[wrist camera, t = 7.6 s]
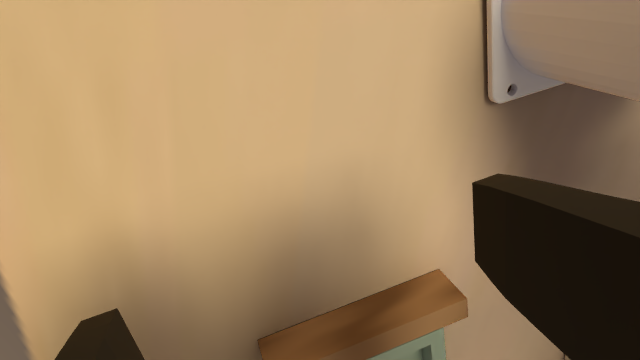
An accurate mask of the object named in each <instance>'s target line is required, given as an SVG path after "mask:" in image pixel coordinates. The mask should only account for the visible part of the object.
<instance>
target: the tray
mask: <svg viewBox="0 0 640 360" xmlns="http://www.w3.org/2000/svg"><path fill="white" fill-rule="evenodd" d="M366 360H446V352H445V340H444V328H443V327H442V328H440V329H438V330H435V331H433V332H430V333H428V334H426V335H423V336H421V337H419V338H416V339H414V340H411V341H409V342H407V343H404V344H402V345H400V346H397V347H395V348H392V349H390V350H388V351H385V352H383V353H381V354H378V355H376V356H373V357H371V358H369V359H366Z"/></svg>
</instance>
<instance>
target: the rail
mask: <svg viewBox="0 0 640 360" xmlns="http://www.w3.org/2000/svg"><path fill="white" fill-rule="evenodd" d="M466 317H468V307H467V298H466V297H465V296H464V295H463V294H462V293H461V292H460V291H459V290H458V288H457V287H456V286H455V285H454V284H453V283H452V282H451V281H450V280H449V279H448V278H447V277H446V276H445V275H444V274H443V273H442V272H441V271H440V270H439V269H438V270H436V271H433V272H431V273H428V274H425V275H423V276H420V277H418V278H415V279H413V280H410V281H408V282H405V283H402V284H400V285H397V286H395V287H392V288H390V289H387V290H385V291H382V292H379V293H377V294H374V295H372V296H369V297H367V298H364V299H362V300H359V301H356V302H354V303H351V304H349V305H346V306H344V307H341V308H338V309H336V310H333V311H331V312H328V313H326V314H323V315H321V316H318V317H315V318H313V319H310V320H308V321H305V322H303V323H300V324H298V325H295V326H292V327H290V328H287V329H285V330H282V331H280V332H277V333H275V334H272V335H269V336H267V337H264V338H262V339H259V340H258V343H259V347H260V351H261V354H262V358H263V360H366V359H369V358H371V357H373V356H376V355H378V354H381V353H383V352H385V351H388V350H390V349H392V348H395V347H397V346H400V345H402V344H404V343H407V342H409V341H411V340H414V339H416V338H419V337H421V336H423V335H426V334H428V333H430V332H433V331H435V330H438V329H440V328H442V327H445V326H447V325H449V324H452V323H454V322H457V321H459V320H461V319H464V318H466Z"/></svg>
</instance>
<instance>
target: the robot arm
mask: <svg viewBox="0 0 640 360" xmlns="http://www.w3.org/2000/svg"><path fill="white" fill-rule="evenodd" d="M487 56H488V96H489V99H490V100H491V101H493V102H495V103H498V104H501V103H505V102H508V101H511V100H514V99H518V98H521V97H524V96H527V95H530V94H533V93H536V92H540V91H543V90H546V89H549V88H552V87H555V86H558V85H562V84H565V83H569V84H573V85H577V86H581V87H585V88H589V89H593V90H596V91H600V92H604V93H608V94H612V95H616V96H620V97H624V98H628V99H631V100H635V101H639V102H640V0H487ZM510 85H511V90H510V91H509V92H508V93H507V90H508V88H509V86H510ZM472 186H473V214H474V242H475V261H476V263H477V264H478V265H479V266H480V268H481V269H482V270H483V272H484V273H485V274H486V275H487V277H488V278H489V279H490V280H491V282H492V283H493V284H494V285H495V286H496V288H497V289H498V290H499V291H500V292H501V293H502V295H503V296H504V297H505V298H506V299H507V300H508V301H509V302H510V303H511V304H512V305H513V306H514V307H515V308H516V309H517V310H518V311H519V312H520V313H521V314H522V315H524V316H525V317H526V318H527V319H528V320H529V321H530V322H531V323H532V324H533V325H534V326H535V327H536V328H537V329H538V330H539V331H540V332H542V333H543V334H544V335H545V336H546V337H547V338H548V339H549V340H550V341H551V342H552V343H553V344H554V345H555V346H557V347H558V348H559V349H560V350H561V351H562V352H563V353H564V354H565V355H566V356H567V357H568V358H569V359H571V360H640V202H637V201H632V200H627V199H622V198H617V197H612V196H607V195H603V194H598V193H593V192H589V191H584V190H579V189H575V188H570V187H566V186H561V185H556V184H552V183H547V182H543V181H538V180H533V179H528V178H522V177H517V176H511V175H503V174H496V175H493V176H490V177H487V178H484V179H482V180H479V181H476V182H473V183H472ZM55 360H144V358H143V356H142V354H141V352H140V350H139V348H138V346H137V345H136V343H135V341H134V339H133V337H132V335H131V333H130V331H129V330H128V328H127V326H126V324H125V322H124V320H123V318H122V316H121V315H120V313H119V311H118V309H114V310H111V311H108V312H105V313H103V314H100V315H97V316H94V317H91V318H88V319H86V320H83V321H81V322H80V323H79V325H78V326H77V328H76V329H75V330H74V332H73V333H72V335H71V336H70V337H69V339H68V340H67V342H66V343H65V345H64V346H63V348H62V349H61V351H60V352H59V354H58V355H57V357H56V358H55Z"/></svg>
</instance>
